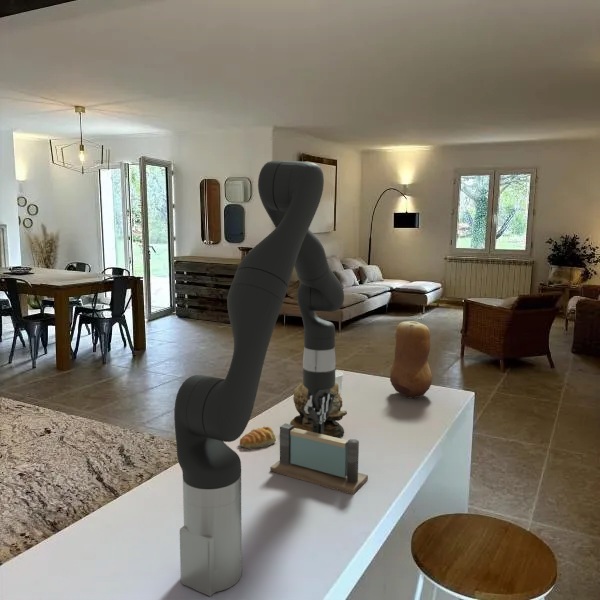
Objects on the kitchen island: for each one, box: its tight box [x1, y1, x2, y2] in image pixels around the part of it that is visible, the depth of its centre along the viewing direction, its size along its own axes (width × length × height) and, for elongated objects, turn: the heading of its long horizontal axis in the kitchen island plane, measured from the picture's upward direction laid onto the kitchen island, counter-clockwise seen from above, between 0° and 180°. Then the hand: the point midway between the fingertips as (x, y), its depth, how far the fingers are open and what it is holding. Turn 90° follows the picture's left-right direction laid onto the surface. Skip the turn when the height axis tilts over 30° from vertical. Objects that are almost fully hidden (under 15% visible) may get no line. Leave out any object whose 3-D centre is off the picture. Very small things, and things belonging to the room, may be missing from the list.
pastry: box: [239, 426, 277, 450], centre depth 142 cm, size 9×7×4 cm
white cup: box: [335, 369, 344, 398], centre depth 173 cm, size 8×8×10 cm
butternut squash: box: [389, 320, 433, 399], centre depth 180 cm, size 14×13×25 cm
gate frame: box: [269, 423, 369, 495], centre depth 124 cm, size 8×21×10 cm, turn 60°
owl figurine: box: [289, 379, 348, 438], centre depth 151 cm, size 18×12×17 cm, turn 50°
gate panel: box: [290, 428, 349, 478], centre depth 124 cm, size 2×14×8 cm, turn 60°
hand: (318, 437), depth 129 cm, fingers closed
